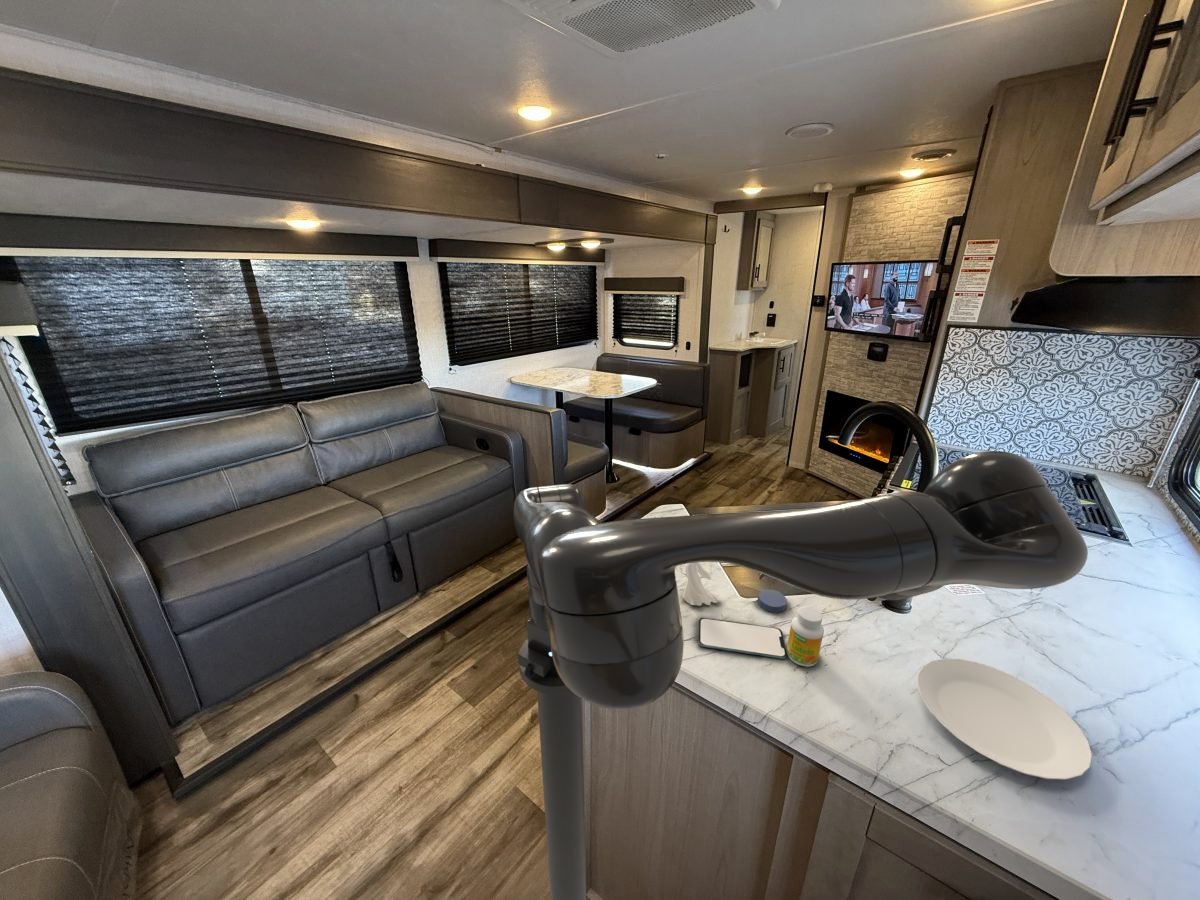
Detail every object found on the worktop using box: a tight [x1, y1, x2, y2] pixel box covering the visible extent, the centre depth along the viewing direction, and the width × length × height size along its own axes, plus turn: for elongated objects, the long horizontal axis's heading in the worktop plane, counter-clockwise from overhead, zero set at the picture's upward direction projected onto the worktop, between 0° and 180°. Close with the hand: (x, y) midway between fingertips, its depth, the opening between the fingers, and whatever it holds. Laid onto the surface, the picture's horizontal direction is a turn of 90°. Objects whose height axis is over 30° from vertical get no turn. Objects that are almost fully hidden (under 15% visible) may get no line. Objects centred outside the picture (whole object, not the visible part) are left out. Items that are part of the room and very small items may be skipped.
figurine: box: [682, 562, 718, 607], centre depth 97 cm, size 8×8×12 cm
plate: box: [916, 658, 1093, 781], centre depth 72 cm, size 21×21×2 cm
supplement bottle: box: [786, 605, 825, 668], centre depth 83 cm, size 5×5×10 cm
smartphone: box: [697, 617, 788, 660], centre depth 88 cm, size 8×1×16 cm
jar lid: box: [757, 588, 788, 613], centre depth 98 cm, size 6×6×2 cm
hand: (848, 583), depth 65 cm, fingers open, 8 cm apart
